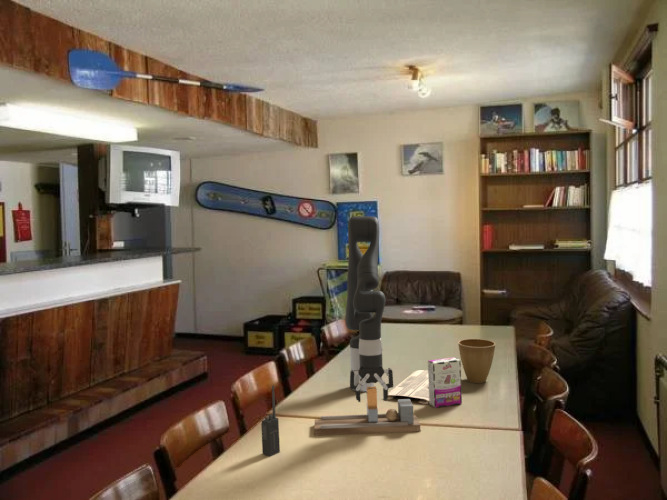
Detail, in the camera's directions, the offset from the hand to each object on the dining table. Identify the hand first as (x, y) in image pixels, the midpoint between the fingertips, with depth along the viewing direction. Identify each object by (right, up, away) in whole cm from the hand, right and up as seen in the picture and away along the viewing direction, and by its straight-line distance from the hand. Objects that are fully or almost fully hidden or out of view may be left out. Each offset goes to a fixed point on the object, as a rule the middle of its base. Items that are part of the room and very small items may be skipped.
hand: (371, 400), depth 189 cm
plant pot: (+47, -5, +50) cm, 69 cm away
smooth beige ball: (+7, -5, 0) cm, 8 cm away
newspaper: (+22, -7, +42) cm, 48 cm away
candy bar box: (+28, -7, +22) cm, 36 cm away
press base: (-2, -9, 0) cm, 9 cm away
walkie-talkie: (-31, -11, -17) cm, 37 cm away
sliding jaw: (0, -7, 0) cm, 7 cm away
